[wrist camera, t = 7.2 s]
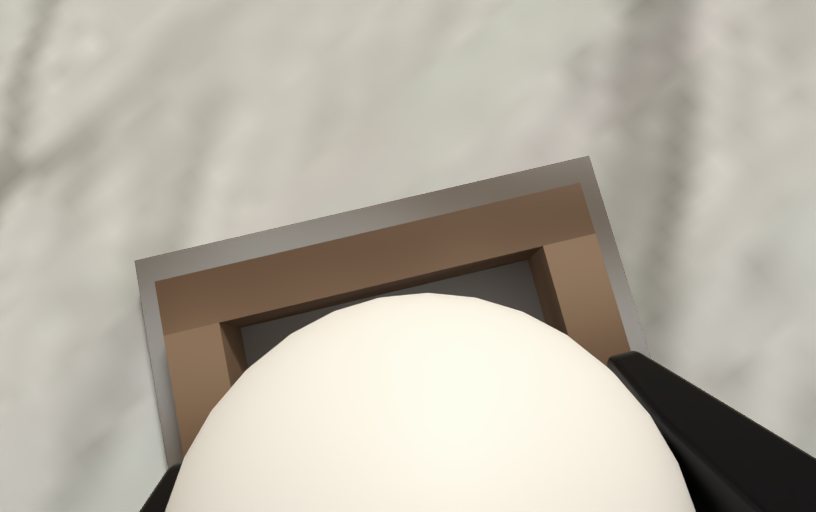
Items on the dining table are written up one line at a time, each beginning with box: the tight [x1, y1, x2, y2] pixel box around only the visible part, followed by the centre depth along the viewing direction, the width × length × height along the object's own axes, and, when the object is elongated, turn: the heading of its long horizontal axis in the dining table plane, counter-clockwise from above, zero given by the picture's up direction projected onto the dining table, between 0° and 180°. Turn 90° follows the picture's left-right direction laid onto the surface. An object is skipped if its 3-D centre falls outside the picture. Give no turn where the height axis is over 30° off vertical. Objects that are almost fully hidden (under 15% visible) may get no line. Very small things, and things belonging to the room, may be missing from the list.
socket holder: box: [135, 156, 651, 469], centre depth 16 cm, size 14×14×3 cm
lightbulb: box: [165, 293, 696, 512], centre depth 10 cm, size 6×6×11 cm
